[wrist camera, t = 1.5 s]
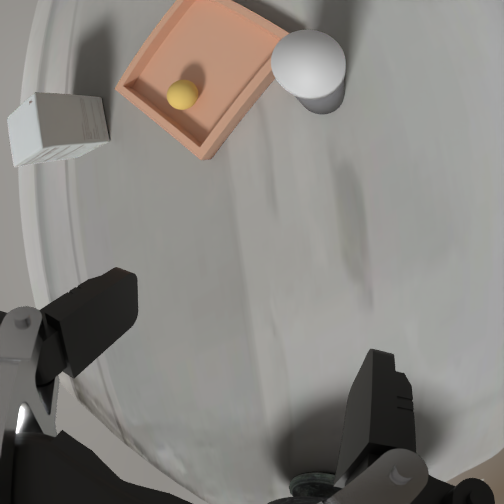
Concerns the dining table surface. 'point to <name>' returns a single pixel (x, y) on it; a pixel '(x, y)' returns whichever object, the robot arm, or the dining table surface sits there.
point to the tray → (203, 70)
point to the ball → (182, 94)
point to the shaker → (311, 69)
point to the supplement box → (56, 128)
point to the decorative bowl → (310, 489)
